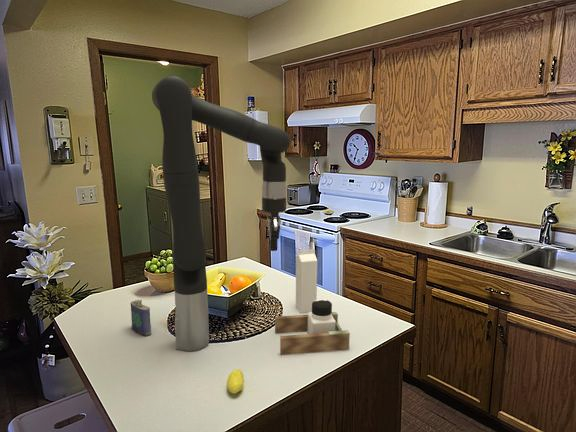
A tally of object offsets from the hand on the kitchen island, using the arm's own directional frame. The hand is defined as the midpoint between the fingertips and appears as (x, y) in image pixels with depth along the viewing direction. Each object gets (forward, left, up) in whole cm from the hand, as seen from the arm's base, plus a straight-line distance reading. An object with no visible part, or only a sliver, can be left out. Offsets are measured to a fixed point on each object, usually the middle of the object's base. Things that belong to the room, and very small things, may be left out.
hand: (273, 250), depth 122 cm
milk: (+13, +11, -26) cm, 31 cm away
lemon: (-13, -31, -26) cm, 42 cm away
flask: (-42, +2, -26) cm, 49 cm away
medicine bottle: (+13, -10, -26) cm, 31 cm away
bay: (+10, -11, -26) cm, 30 cm away
